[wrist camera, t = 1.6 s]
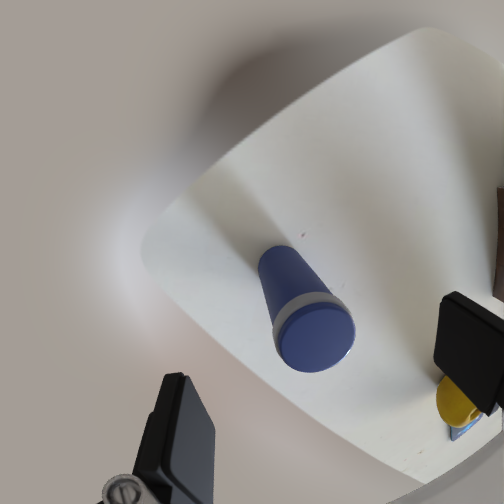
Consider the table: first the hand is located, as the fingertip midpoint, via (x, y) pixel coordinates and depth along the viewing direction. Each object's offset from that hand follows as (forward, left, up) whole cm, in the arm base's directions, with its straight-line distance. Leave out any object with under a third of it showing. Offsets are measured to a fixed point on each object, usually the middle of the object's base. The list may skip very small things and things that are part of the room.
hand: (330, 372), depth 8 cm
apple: (+19, +17, -11) cm, 27 cm away
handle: (0, 0, -10) cm, 10 cm away
